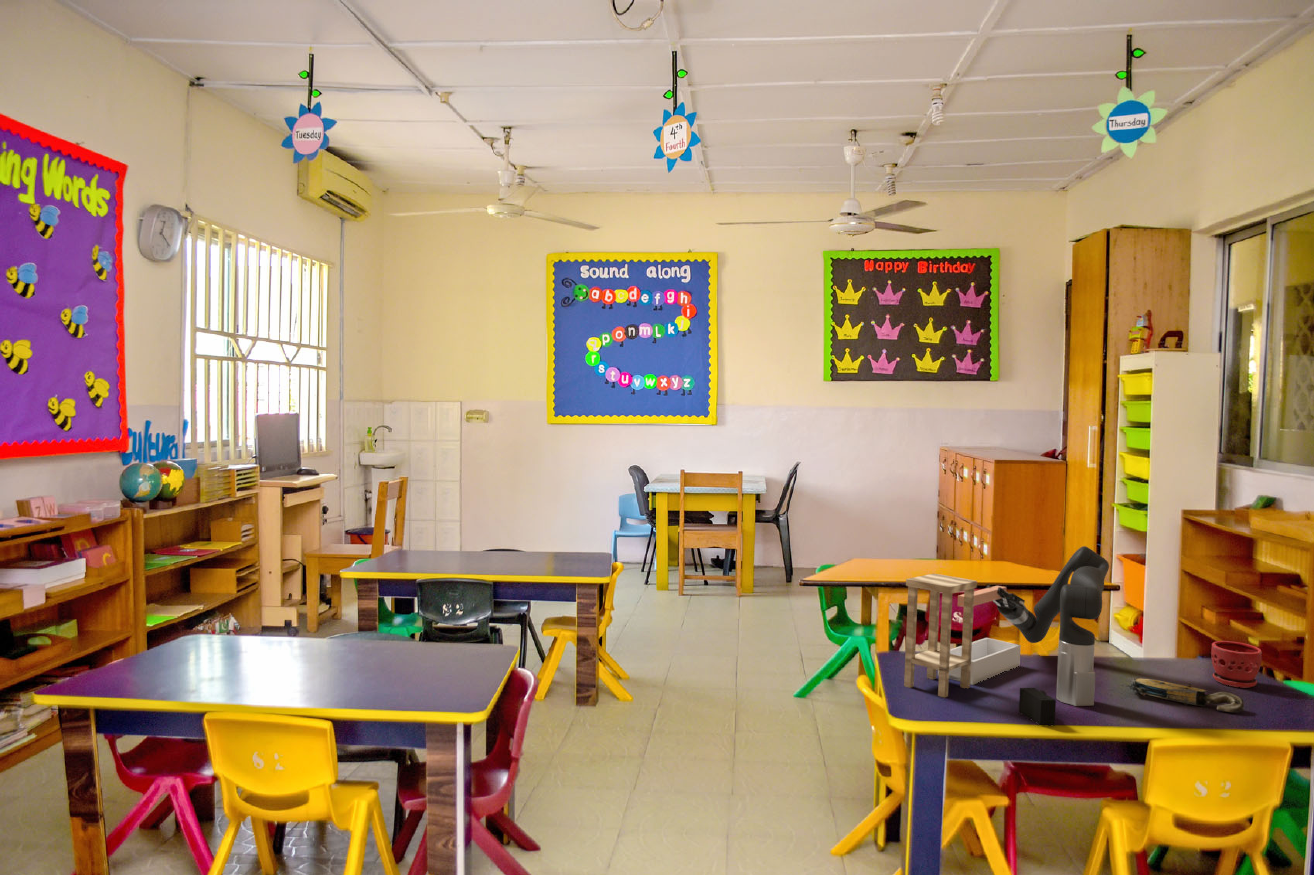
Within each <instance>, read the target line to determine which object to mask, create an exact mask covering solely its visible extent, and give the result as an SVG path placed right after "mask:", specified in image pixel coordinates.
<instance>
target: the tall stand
mask: <svg viewBox="0 0 1314 875" xmlns="http://www.w3.org/2000/svg"><path fill="white" fill-rule="evenodd" d="M977 585H978V581H977V580H973V579H968V578H962V577H957V576H951V575H950V576H949V575H945V574H940V573H939V574H938V573H931V574H926V575H921V576H915V577H910V578H909V577H908V578H906V579H905V586H906V587H907V588H908V589H907V607H906V608H907V611H906V629H905V630H906V632H905V633H906V634H905V657H904V680H903V682H904V683H903V686H904V687H906V688H909V689H910V688H913V687H914V686H915V685H914V684H915V665H917V666H921V667H925V668H926V679H928V678H929V680H933V681H934V680H935V679H937V671H938V670H939V676H938V689H937V690H938V691H937V696H938V697H941V698H947V697H949V684H950V683H949V671H950V670H952V669H955V668H958V667H961V681H959V682H960V683H959V684H960V685H959V686H960V688H962V689H965V688H967V689H969V688H971V684H970V672H971V650H972V642H973V624H974V623H973V622H974V606H973V605H974V591H975V589H976V588H978V586H977ZM918 589H921V590H926V591H930V595H929V618H928V637H927V638H928V643H927V650H925V651H921V652H918V653H916V644H917V642H916V641H917V640H916V639H917V637H916V636H917V615H918V593H919V591H918ZM960 592H964V593H963V594H964V607H963V613H962V615H963V616H962V636H961V637H962V641H961V642H962V643H961V646H962V657H961V656H957V655H953V654H950V649H951V632H952V631H951V630H952V610H953V594H956V593H960ZM940 593H942V594H940ZM940 595H942V596H940ZM940 597H941V617H940V618H941V619H940V618H939V615H940ZM939 619H940V638H939ZM939 640H940V641H939ZM938 642H939V644H940V645H939V644H938ZM938 645H939V650H938Z"/></svg>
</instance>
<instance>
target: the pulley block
mask: <svg viewBox="0 0 1314 875" xmlns="http://www.w3.org/2000/svg"><path fill="white" fill-rule="evenodd" d="M1120 686H1124V687H1126V688H1129V689H1130V690H1131V691H1132V692H1137V693H1140V694H1141V695H1142V696H1144V697H1146V696H1150V697H1154V698H1159V699H1162V700H1163V699H1164V700H1168V701H1174V702H1178V703H1181V704H1182V703H1183V705H1186V706H1188V705H1193V706H1199V707H1202V708H1203V707H1206V706H1207V705H1211V704H1213V705H1217V707H1216V710H1217V711H1221V712H1227V713H1239V712H1242V711H1244V712H1245V700H1243V698H1242V697H1240V696H1239V695H1236V694H1235V693H1231V692H1225V691H1219V692H1214V693H1210V694H1208V693H1207V690H1206V689H1204V688H1202V689H1201V688H1199V687H1198V688H1197V687H1193V686H1191V683H1188V685H1183V684H1177V683H1172V682H1167V681H1162V680H1157V679H1154V678H1153V679H1150V678H1134V679H1132V680H1131V681H1130V684H1124V683H1121V684H1120ZM1206 693H1207V694H1206Z"/></svg>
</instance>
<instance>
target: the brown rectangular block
mask: <svg viewBox="0 0 1314 875" xmlns="http://www.w3.org/2000/svg"><path fill="white" fill-rule="evenodd" d="M998 587H1001V588H1002V589H1003V590H1004V591H1006V592H1007V586H1001V585H995V586H991V587H990V588H986V587H985V588H982V589H979V590H974V605H973V607H975V606H979V605H983V604H985V603H989V602H993V601H994V600H997V599H1001V598H1002V597H1000V596H999V595H998V593H997V591H998ZM957 607H961V608H964V593H963V594H960V595H959V594H958V596H957Z"/></svg>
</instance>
